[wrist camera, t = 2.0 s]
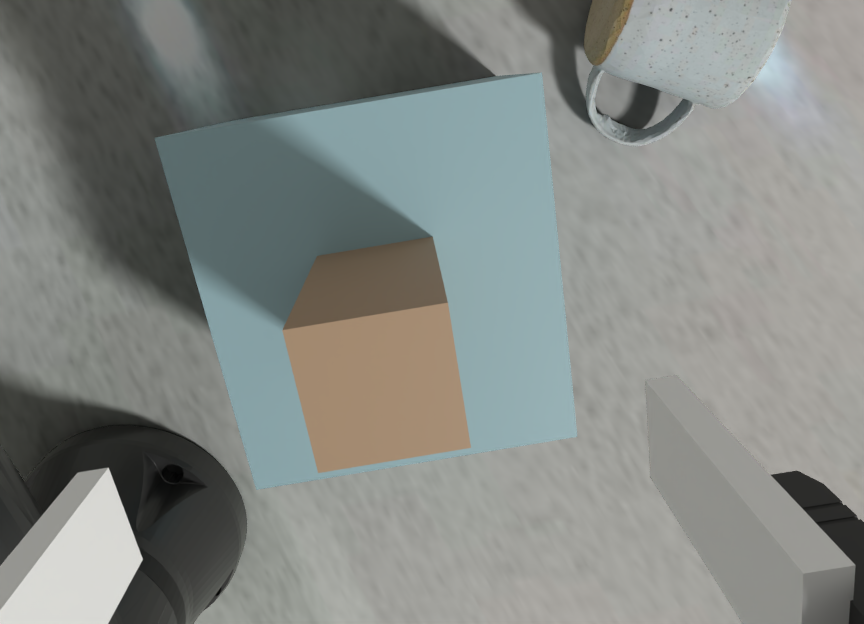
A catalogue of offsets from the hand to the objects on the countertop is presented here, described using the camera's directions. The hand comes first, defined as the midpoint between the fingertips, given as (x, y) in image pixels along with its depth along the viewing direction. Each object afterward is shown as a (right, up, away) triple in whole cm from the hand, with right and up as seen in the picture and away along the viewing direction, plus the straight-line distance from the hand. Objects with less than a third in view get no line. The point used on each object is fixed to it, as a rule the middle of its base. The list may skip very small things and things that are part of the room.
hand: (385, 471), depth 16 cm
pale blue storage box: (-2, +9, +25) cm, 26 cm away
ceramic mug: (+14, +19, +22) cm, 33 cm away
